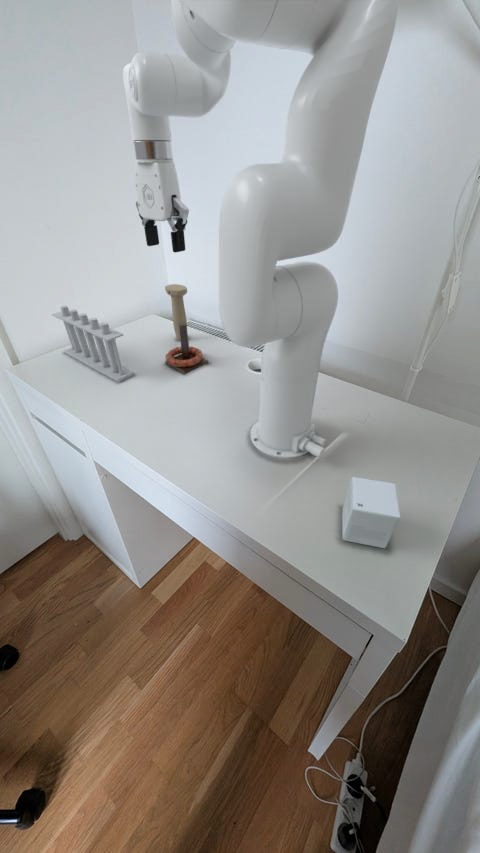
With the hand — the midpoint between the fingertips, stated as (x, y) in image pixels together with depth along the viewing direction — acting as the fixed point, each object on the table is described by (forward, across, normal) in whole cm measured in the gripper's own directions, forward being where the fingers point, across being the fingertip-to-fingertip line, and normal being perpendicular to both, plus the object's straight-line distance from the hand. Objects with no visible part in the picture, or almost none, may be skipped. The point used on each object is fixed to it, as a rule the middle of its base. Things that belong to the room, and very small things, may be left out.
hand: (165, 248), depth 78 cm
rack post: (+26, +7, -3) cm, 27 cm away
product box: (+26, +65, -18) cm, 72 cm away
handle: (+26, -6, +6) cm, 28 cm away
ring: (+24, +6, -3) cm, 25 cm away
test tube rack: (+26, -11, -19) cm, 34 cm away
